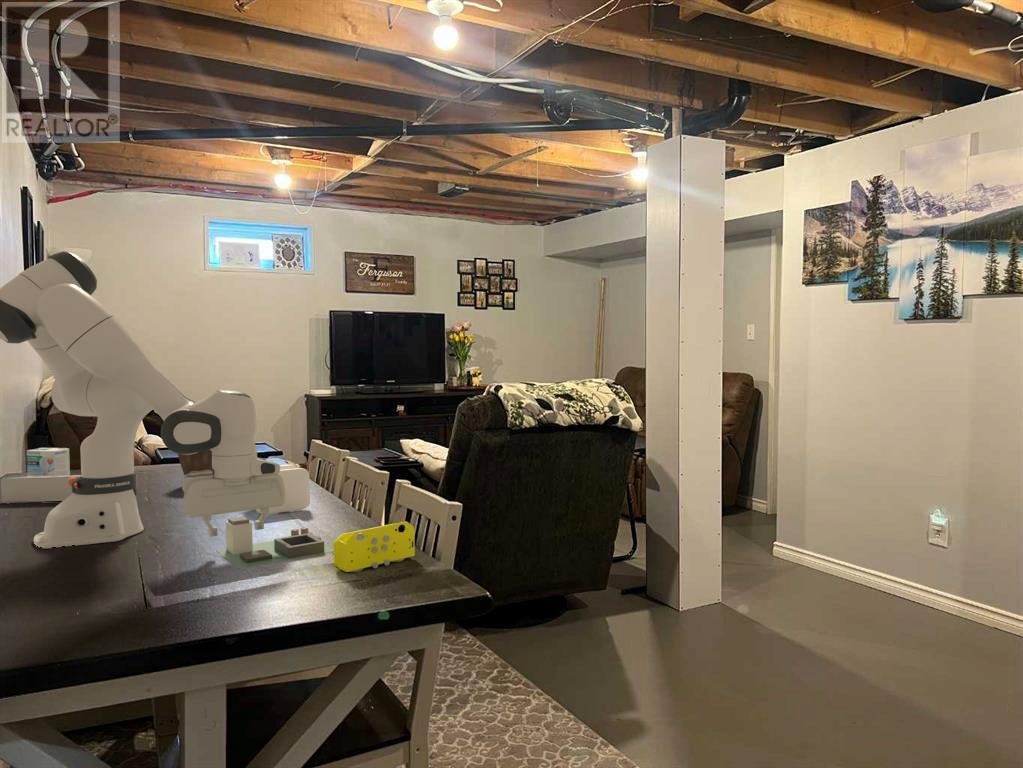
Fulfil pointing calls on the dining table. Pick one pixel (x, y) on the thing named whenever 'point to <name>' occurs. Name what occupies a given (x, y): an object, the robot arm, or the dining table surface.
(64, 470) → the light bulb box
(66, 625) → the dining table surface
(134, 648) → the dining table surface
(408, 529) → the yellow toy chassis
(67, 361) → the robot arm
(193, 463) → the plant pot
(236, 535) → the plug
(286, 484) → the cable organizer
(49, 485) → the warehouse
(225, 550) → the board
